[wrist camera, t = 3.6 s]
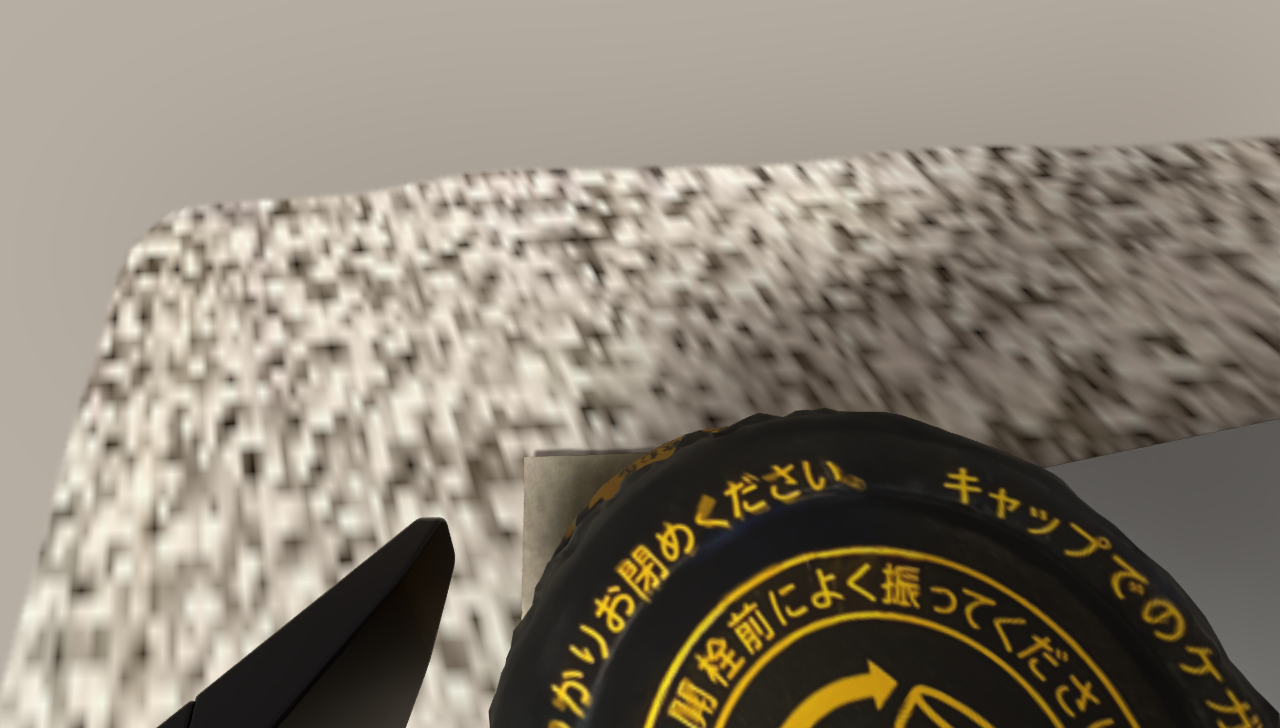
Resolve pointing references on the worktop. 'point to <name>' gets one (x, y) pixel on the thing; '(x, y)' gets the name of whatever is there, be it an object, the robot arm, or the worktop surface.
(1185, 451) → the mat
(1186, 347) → the worktop surface
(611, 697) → the condiment
